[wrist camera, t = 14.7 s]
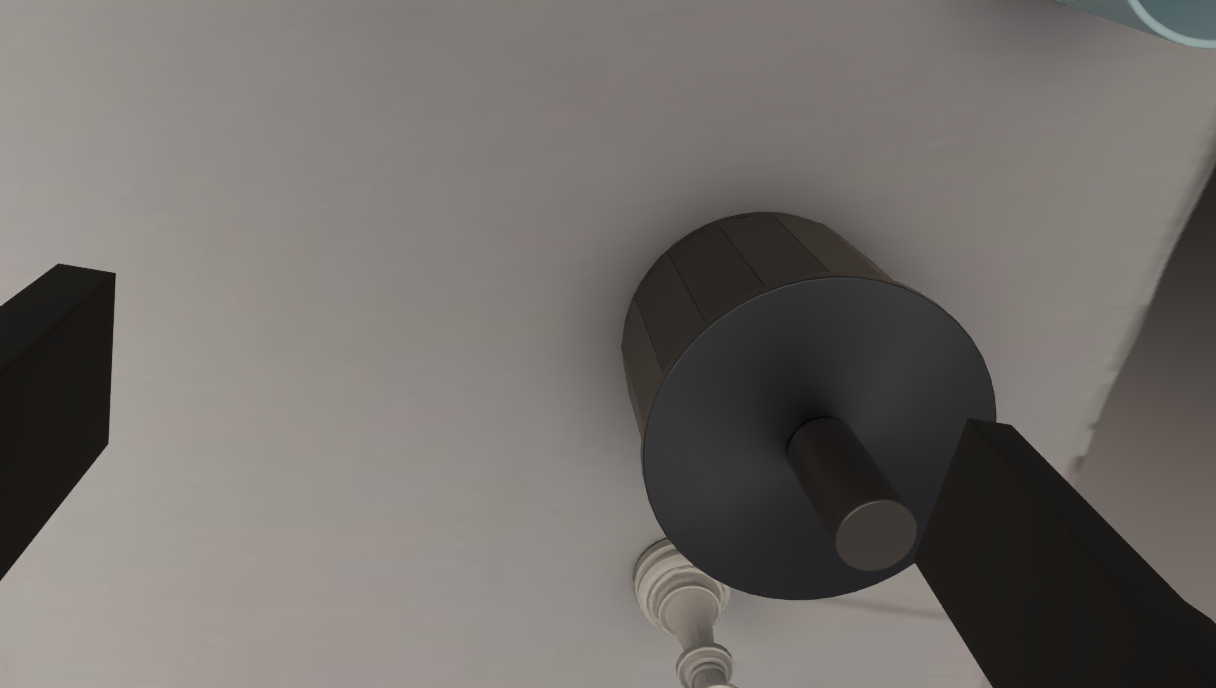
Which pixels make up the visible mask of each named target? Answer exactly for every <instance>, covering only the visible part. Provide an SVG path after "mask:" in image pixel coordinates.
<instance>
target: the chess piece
mask: <svg viewBox="0 0 1216 688" xmlns="http://www.w3.org/2000/svg"><path fill="white" fill-rule="evenodd" d="M633 579H634V590H635V594H636V597H637V599H638V604H639V606H640V609H641V611H642V613H643V615H644V616H645V617H646V618H647V620H648V621H649V622H651V623H652V624H654V625H655V626H657V627H658V628H660V629H663V630H665V631H666V632H667V633H669V634H670V635H672V636H675V637H678V639H679V641H680V643H681V645H682V647H683V649H684V652H683V653H682V654H681V655H680V657H679V659H678V661H677V665H676V674H677V678H678V680H679V682H680V684H681V685H682V686H683V687H684V688H737V687H736V686H734V685H733V684H730V683H729V682H730V680H731V678H732V676H733V672H734V663H733V659H732V657H731V654H730V653H729V652H728V650H727V649H726V648H724V647H723V646H721V645H719V644H716V643H714V639H713V627H714V626H715V625H716V623H717V622H718V620H719V617H720V615H721V614H722V612H723V611H724V609H725V607H726V606H727V604H728V601H729V597H730V593H731V590H730V587H729V586H727V585H725V584H723V583H721V582H719V581H717V580H715V579H713V578H711V577H710V576H708V575H707V574H705V573H704V572H702V571H701V570H699V569H698V568H697V567H695V566H694V565H693V564H692V563H690V562H689V561H688V560H687V559H686V558H685V557H684V556H683V555H682V554H681V553H680V552H679V551H678V550H677V549H676V548H675V546H674V545H673V544H672V543H671V541H670V540H669V539H666V540H663V541H660V542H658V543H657V544H655V545H654V546H652V547H651V548H649V549H648V550H647V551H646V552H645V553H644V554H643V555H642V557H641V558H640V560H639V562H638V564H637V565H636V568H635V573H634V577H633Z"/></svg>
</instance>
